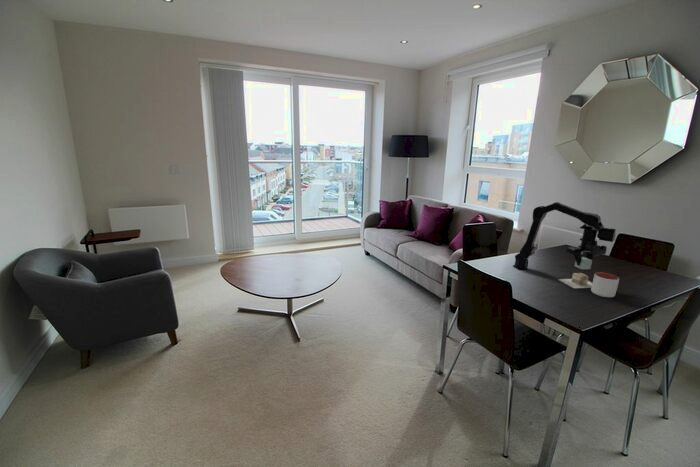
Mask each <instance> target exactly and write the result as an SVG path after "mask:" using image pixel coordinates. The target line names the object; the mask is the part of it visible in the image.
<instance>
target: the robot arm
mask: <svg viewBox="0 0 700 467" xmlns="http://www.w3.org/2000/svg"><path fill="white" fill-rule="evenodd" d="M553 211H558V212H561V213H562V214H565V215H568V216H569V217H570V216H571V217H573V218H576V219H577V220H579V221H580V222H581V223H583V225H582V226H580V227H579V229H581V230H583V233H582V236H581V238H579V241H581V242H580V245H578V246H577V247H576V246H568V247H566V250H565V251H566V252H567V253H569V254H571V255H573V258H574V260H575V262H576V263H577V265H578V266H579V265H580V263H581V259H582V257H584V256H585V255H586V256H585V258H588V259H590V260H592V261H593V260H594V258H596V257H599V256H602V255H606V254H607V246H606V245H598V241H597V240H596V238H597V239H598V240H599V241H604V242H608V243H614V241H615V239H616V231H617V230H616V228H609V227H605V226H604V224H603V223H602V220H601V219H602V218H601V216H600V215H599V214H597V213H591V212H585V211H582V210H579V209H577V208H573V207H571V206H568V205H566V204H562V203H561V202H559V201H556V202H553V203H551V204H549V205H546V206H545V205H541V206H537V207H535V208H534V209H533V212H532V223H531V226H530V229H529V231H528V235H527V238H526V241H525V243H524V244H523V246H522V247H521V249H520V251H519V253H517V254H515V255H514V259H515V260H514V261H515V262H514V264H512V267H513V266H514V268H515V269H517V270H519V271H520V270H521V271H522V270H523V271H524V270H527V271H528V270H529V268H528V265H529V258H530V257H531V256H533V255H534V254H536V253H535V252H536V249H537V246H536V247H535V241H536V239H537V236H538V233H539V230H540V227H541V223H542V222H543V220H544V219H545V218H546V216H547V214H548V213H550V212H553ZM584 253H585V255H584Z"/></svg>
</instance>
